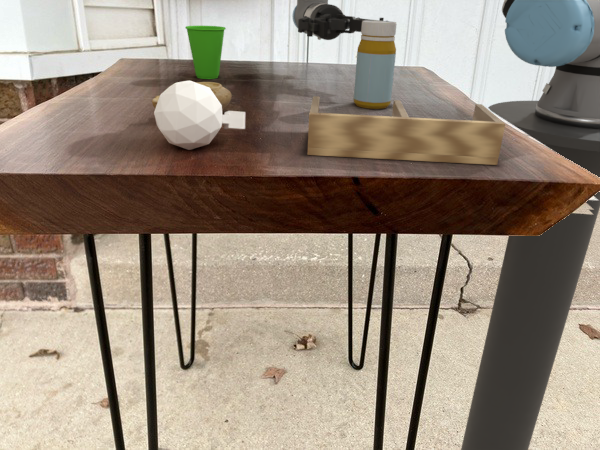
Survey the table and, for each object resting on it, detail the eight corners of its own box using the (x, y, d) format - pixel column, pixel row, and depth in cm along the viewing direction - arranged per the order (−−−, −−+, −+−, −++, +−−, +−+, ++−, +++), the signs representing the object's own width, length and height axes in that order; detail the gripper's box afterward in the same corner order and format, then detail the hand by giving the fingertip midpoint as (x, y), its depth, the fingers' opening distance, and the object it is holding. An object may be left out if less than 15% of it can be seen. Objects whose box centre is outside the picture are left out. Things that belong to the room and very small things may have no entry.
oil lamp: (149, 125, 82) (146, 92, 79) (179, 106, 94) (177, 77, 92) (216, 129, 81) (215, 96, 78) (237, 109, 94) (236, 80, 91)
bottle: (392, 103, 103) (401, 21, 97) (386, 111, 97) (395, 23, 90) (357, 100, 105) (364, 19, 98) (349, 107, 99) (356, 21, 92)
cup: (229, 80, 120) (228, 29, 116) (189, 80, 118) (186, 28, 114) (224, 74, 128) (223, 25, 124) (186, 74, 126) (183, 25, 121)
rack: (475, 140, 80) (482, 104, 78) (497, 165, 69) (505, 123, 67) (311, 132, 81) (313, 96, 79) (307, 155, 70) (309, 114, 68)
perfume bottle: (159, 147, 65) (252, 151, 70) (159, 71, 64) (253, 80, 69) (148, 149, 73) (233, 153, 77) (149, 81, 72) (234, 90, 77)
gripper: (372, 39, 127) (413, 50, 108) (271, 37, 120) (296, 49, 102) (375, 5, 124) (418, 11, 105) (272, 2, 117) (298, 7, 99)
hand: (358, 30), depth 103 cm, fingers open, 13 cm apart
